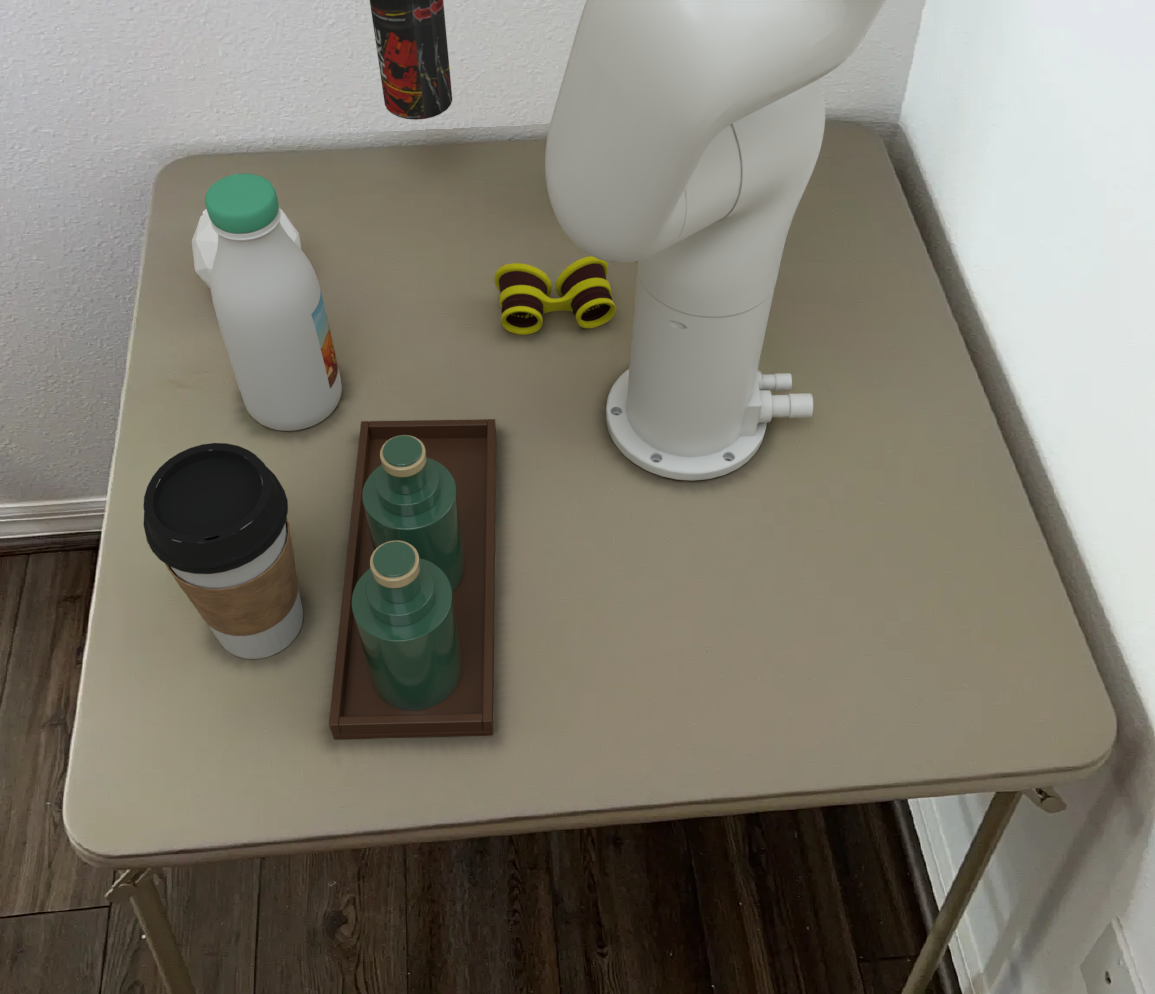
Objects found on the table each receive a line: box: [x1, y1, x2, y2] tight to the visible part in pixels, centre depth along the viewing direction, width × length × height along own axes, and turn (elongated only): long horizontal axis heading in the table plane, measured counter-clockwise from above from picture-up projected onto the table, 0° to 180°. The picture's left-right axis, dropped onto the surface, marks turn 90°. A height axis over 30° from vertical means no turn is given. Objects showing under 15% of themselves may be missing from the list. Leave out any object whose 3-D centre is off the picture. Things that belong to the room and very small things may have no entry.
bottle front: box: [352, 541, 462, 711], centre depth 70 cm, size 6×6×13 cm
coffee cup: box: [142, 442, 304, 660], centre depth 72 cm, size 8×8×15 cm
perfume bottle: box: [191, 208, 302, 291], centre depth 95 cm, size 9×9×12 cm
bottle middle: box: [362, 435, 465, 592], centre depth 74 cm, size 6×6×13 cm
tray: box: [328, 418, 497, 740], centre depth 79 cm, size 10×25×2 cm, turn 2°
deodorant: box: [369, 0, 453, 121], centre depth 93 cm, size 6×6×15 cm
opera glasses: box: [493, 255, 617, 336], centre depth 94 cm, size 10×5×5 cm, turn 99°
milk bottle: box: [204, 172, 343, 432], centre depth 82 cm, size 8×8×20 cm
